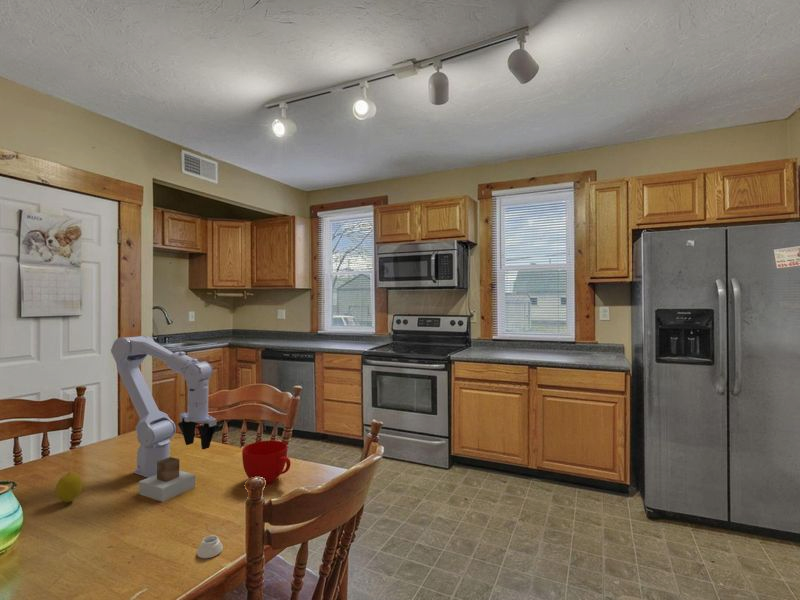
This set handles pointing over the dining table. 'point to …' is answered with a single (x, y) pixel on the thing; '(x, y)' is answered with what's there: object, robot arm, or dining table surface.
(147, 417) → the robot arm
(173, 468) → the walnut block
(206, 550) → the white tapered collar
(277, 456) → the ceramic cup
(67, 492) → the lemon
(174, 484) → the base block
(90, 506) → the dining table surface
